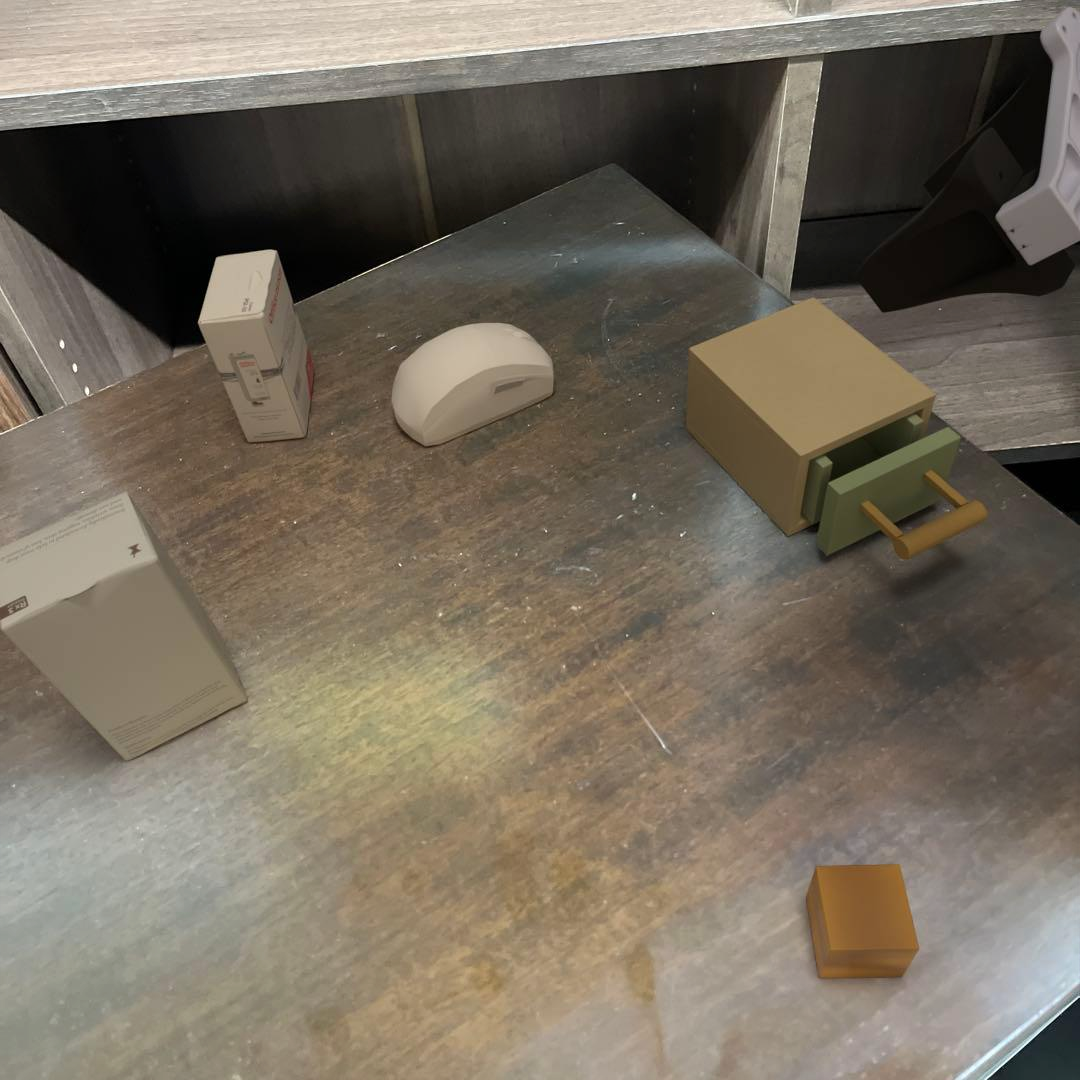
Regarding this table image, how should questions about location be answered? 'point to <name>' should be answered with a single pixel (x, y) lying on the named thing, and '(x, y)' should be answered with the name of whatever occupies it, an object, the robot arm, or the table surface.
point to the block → (861, 921)
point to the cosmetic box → (116, 627)
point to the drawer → (887, 488)
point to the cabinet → (792, 400)
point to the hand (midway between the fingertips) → (906, 242)
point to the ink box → (258, 345)
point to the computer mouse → (469, 381)
